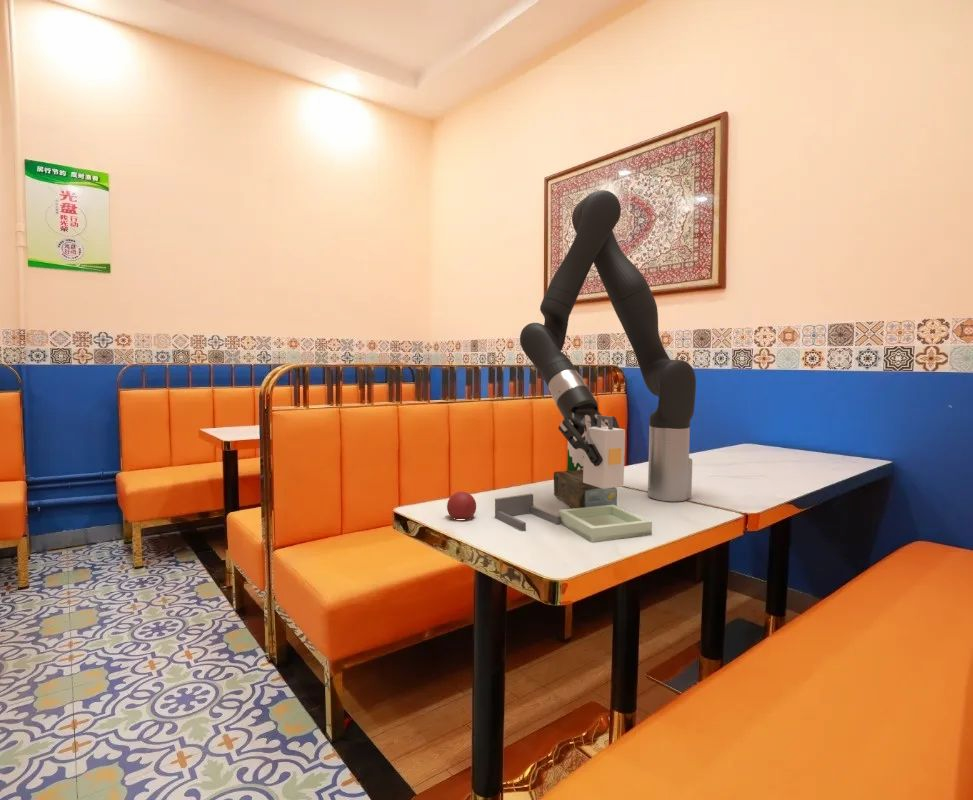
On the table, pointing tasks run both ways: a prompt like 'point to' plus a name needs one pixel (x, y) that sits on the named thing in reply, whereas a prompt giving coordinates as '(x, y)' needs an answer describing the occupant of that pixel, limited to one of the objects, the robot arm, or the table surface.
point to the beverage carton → (581, 491)
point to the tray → (604, 523)
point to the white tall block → (606, 456)
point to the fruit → (461, 505)
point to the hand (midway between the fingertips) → (610, 462)
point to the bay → (520, 510)
